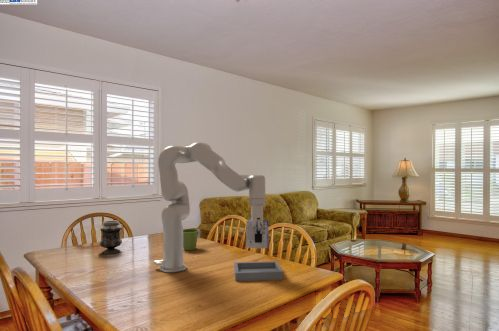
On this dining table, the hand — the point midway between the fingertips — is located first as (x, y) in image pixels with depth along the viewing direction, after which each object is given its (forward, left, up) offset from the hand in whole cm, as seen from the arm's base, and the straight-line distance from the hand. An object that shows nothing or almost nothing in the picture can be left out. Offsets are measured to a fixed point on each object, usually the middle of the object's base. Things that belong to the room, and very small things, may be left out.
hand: (257, 240), depth 154 cm
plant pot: (-36, +50, -16) cm, 64 cm away
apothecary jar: (-81, +47, -16) cm, 95 cm away
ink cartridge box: (0, 0, -3) cm, 3 cm away
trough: (0, 0, -16) cm, 16 cm away
